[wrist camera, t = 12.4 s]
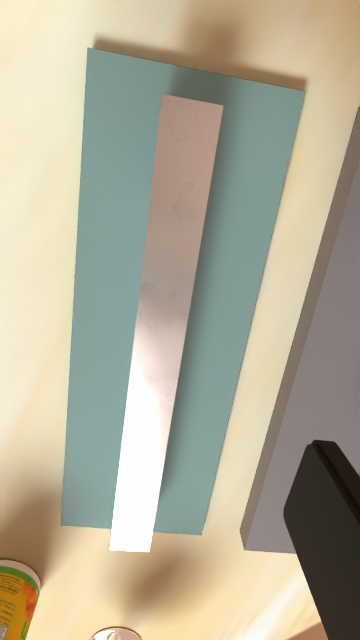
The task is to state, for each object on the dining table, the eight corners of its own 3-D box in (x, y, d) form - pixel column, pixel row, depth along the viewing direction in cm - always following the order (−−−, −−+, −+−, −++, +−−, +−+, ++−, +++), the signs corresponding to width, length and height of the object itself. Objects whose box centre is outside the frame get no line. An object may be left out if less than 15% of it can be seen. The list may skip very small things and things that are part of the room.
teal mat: (90, 53, 15) (87, 47, 15) (300, 95, 16) (305, 91, 16) (63, 517, 24) (61, 525, 23) (200, 527, 25) (201, 535, 24)
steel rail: (162, 114, 16) (161, 94, 13) (212, 123, 16) (223, 105, 13) (116, 507, 23) (109, 549, 20) (150, 510, 23) (149, 552, 20)
